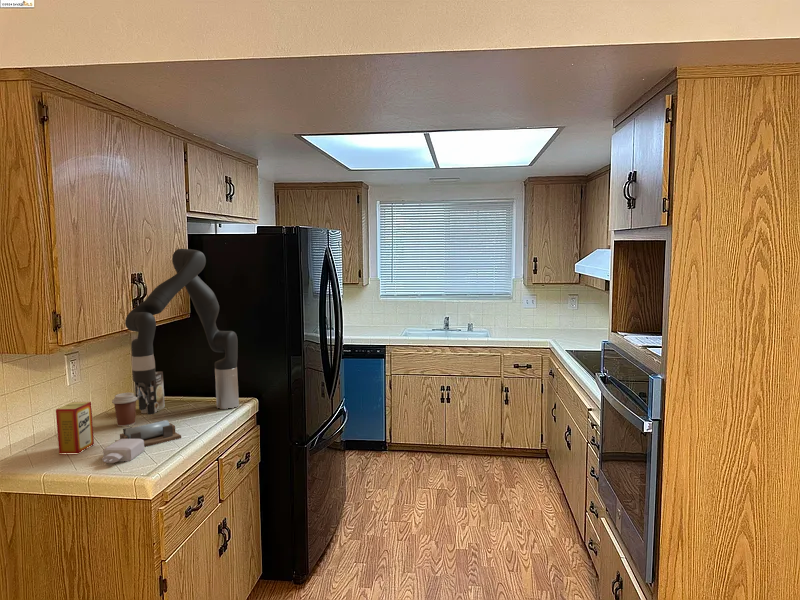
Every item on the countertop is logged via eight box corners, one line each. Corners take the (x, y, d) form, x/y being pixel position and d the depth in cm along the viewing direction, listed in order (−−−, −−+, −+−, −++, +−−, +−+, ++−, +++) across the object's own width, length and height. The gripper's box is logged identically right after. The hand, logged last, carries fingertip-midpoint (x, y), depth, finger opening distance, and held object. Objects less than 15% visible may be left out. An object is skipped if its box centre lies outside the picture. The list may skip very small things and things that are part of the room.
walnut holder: (115, 443, 205) (114, 429, 204) (168, 430, 217) (167, 418, 217) (126, 451, 196) (125, 437, 195) (181, 438, 209) (180, 424, 208)
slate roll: (130, 444, 200) (129, 430, 200) (125, 440, 204) (124, 427, 203) (170, 435, 210) (169, 421, 209) (165, 431, 213) (164, 418, 213)
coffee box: (155, 413, 242) (153, 375, 241) (140, 413, 242) (138, 376, 241) (165, 407, 251) (163, 371, 250) (151, 407, 251) (148, 371, 250)
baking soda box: (77, 454, 194) (74, 408, 193) (59, 454, 194) (55, 408, 193) (94, 444, 204) (90, 400, 202) (76, 444, 204) (73, 400, 202)
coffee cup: (141, 420, 233) (139, 391, 231) (136, 426, 224) (134, 396, 223) (116, 422, 230) (114, 392, 229) (111, 429, 222) (109, 398, 220)
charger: (92, 469, 181) (118, 452, 196) (121, 468, 181) (144, 452, 196) (91, 454, 181) (117, 438, 196) (120, 454, 180) (143, 438, 195)
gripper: (161, 368, 202) (164, 413, 203) (147, 363, 212) (150, 405, 214) (139, 372, 197) (142, 418, 198) (126, 366, 207) (129, 410, 209)
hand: (146, 411), depth 206 cm, fingers open, 8 cm apart
